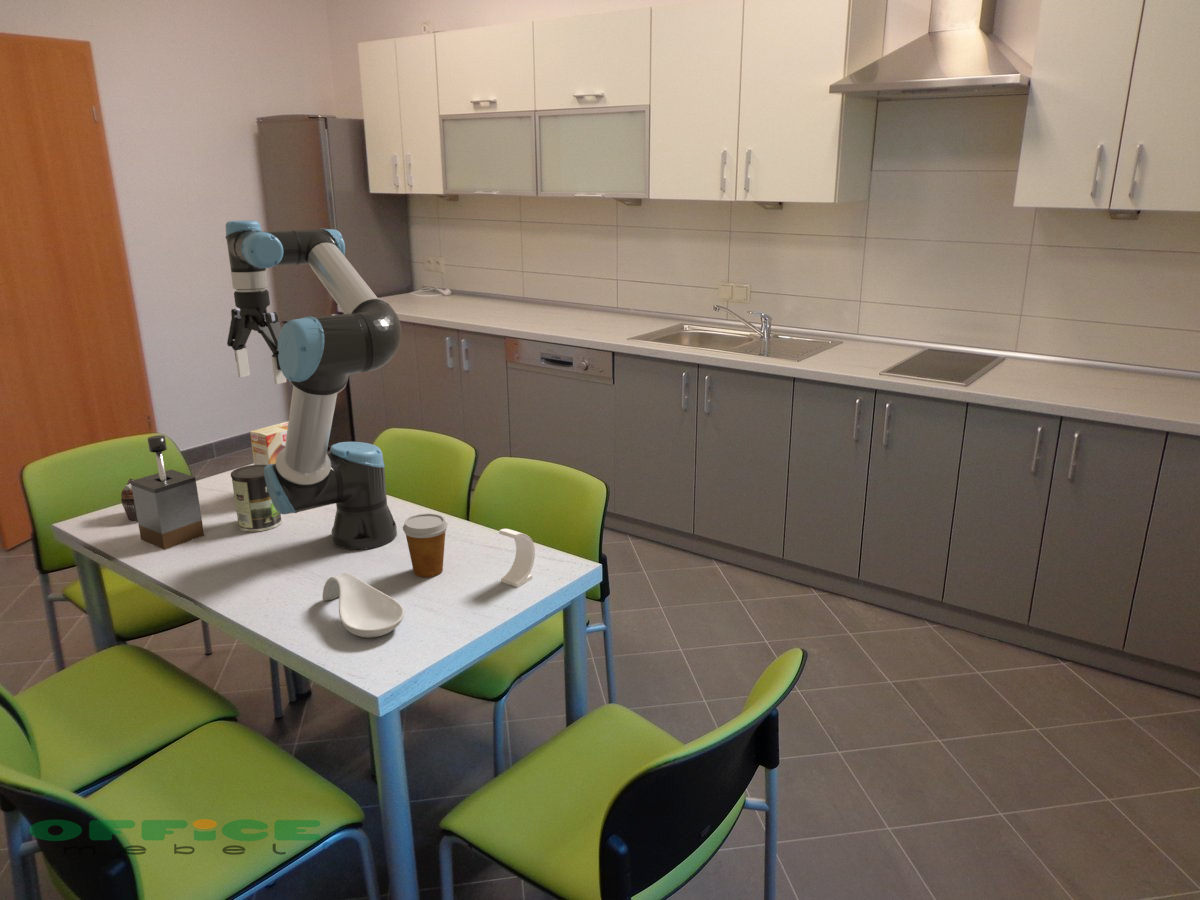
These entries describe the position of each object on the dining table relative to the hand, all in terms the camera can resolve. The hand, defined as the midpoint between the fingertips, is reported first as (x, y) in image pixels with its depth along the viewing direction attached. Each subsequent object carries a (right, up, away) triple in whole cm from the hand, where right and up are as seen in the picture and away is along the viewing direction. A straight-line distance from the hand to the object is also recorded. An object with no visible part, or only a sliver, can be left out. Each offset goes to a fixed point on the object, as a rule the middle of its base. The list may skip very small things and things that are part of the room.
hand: (262, 379), depth 204 cm
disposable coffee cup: (+43, -44, -15) cm, 63 cm away
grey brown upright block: (-22, -38, +2) cm, 44 cm away
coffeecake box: (-4, -29, +29) cm, 42 cm away
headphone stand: (+63, -45, -19) cm, 80 cm away
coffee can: (-5, -35, +10) cm, 37 cm away
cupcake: (-36, -34, +15) cm, 52 cm away
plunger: (-22, -33, 0) cm, 40 cm away
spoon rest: (+33, -50, -35) cm, 70 cm away
